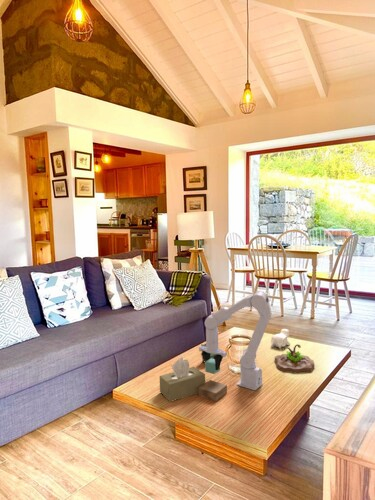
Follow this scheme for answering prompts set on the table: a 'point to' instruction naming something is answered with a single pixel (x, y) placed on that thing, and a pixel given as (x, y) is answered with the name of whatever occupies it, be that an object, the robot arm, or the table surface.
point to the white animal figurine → (280, 339)
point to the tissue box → (181, 381)
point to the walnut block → (212, 390)
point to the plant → (294, 362)
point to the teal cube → (211, 366)
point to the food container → (210, 354)
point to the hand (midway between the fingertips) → (212, 368)
